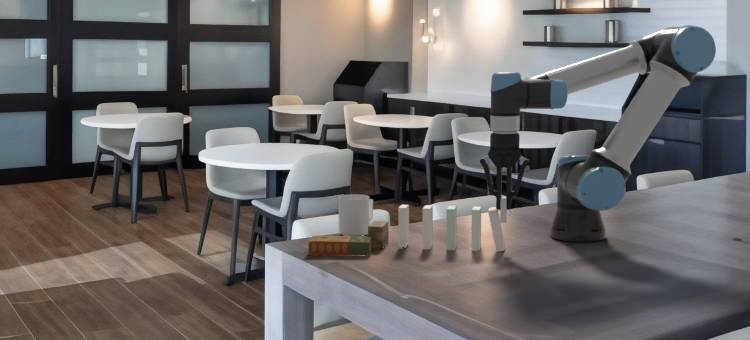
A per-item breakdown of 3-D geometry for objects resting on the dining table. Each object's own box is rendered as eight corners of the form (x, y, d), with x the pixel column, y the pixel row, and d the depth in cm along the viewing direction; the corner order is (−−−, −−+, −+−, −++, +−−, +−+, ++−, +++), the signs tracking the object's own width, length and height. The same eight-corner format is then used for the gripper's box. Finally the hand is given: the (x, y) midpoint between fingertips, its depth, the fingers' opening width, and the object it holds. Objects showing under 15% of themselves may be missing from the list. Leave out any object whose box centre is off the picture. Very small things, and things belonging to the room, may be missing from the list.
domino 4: (480, 247, 232) (481, 206, 230) (479, 251, 227) (479, 209, 225) (473, 246, 232) (473, 206, 230) (471, 251, 227) (471, 209, 226)
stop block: (388, 242, 238) (388, 221, 238) (382, 248, 231) (382, 226, 230) (374, 242, 239) (374, 220, 238) (368, 248, 231) (367, 226, 231)
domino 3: (456, 246, 233) (456, 206, 231) (454, 250, 228) (454, 209, 227) (449, 246, 233) (449, 205, 232) (446, 250, 228) (446, 209, 227)
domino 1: (409, 244, 236) (408, 204, 234) (405, 248, 231) (405, 208, 229) (401, 244, 236) (401, 204, 235) (398, 248, 231) (398, 207, 230)
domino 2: (432, 245, 234) (432, 205, 233) (430, 249, 229) (430, 208, 228) (425, 245, 235) (425, 205, 233) (422, 249, 230) (422, 208, 228)
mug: (354, 239, 243) (354, 200, 241) (332, 235, 249) (331, 197, 247) (383, 232, 252) (382, 195, 250) (361, 229, 258) (360, 192, 256)
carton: (313, 250, 232) (312, 234, 231) (372, 250, 231) (372, 234, 230) (308, 257, 224) (308, 240, 223) (370, 257, 222) (370, 241, 222)
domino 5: (505, 246, 230) (497, 206, 229) (504, 250, 225) (495, 209, 224) (497, 247, 231) (489, 207, 230) (496, 251, 226) (488, 211, 225)
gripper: (530, 131, 226) (529, 220, 229) (480, 130, 229) (479, 218, 232) (530, 133, 219) (528, 225, 222) (478, 133, 221) (477, 223, 224)
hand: (503, 221), depth 227 cm, fingers closed
